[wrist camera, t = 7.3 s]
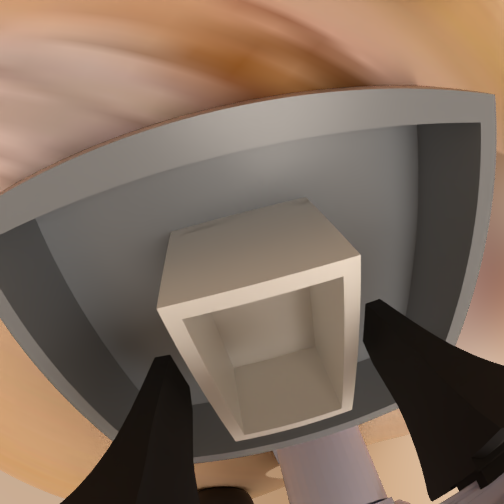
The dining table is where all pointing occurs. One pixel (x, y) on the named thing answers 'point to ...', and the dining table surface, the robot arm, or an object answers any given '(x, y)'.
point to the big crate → (238, 201)
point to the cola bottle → (224, 496)
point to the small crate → (266, 315)
